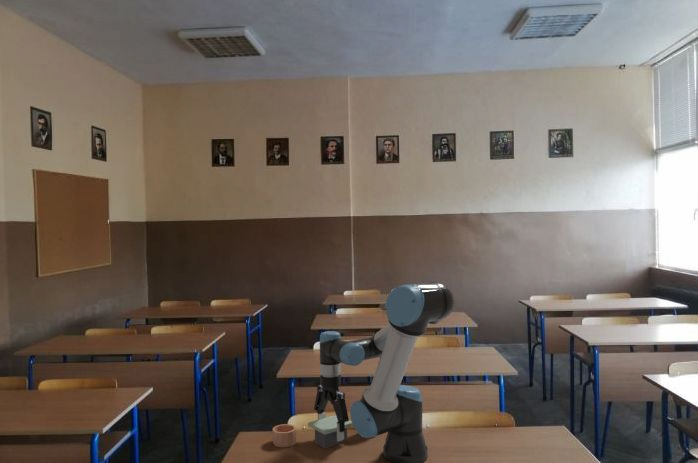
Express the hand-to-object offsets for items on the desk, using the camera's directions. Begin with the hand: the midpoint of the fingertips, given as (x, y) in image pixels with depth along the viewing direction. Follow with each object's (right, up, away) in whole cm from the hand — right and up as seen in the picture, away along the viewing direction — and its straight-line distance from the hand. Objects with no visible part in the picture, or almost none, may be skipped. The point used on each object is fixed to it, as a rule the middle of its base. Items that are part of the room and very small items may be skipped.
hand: (331, 435), depth 180 cm
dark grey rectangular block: (0, -2, 0) cm, 2 cm away
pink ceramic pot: (-17, -3, 0) cm, 17 cm away
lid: (0, +4, 0) cm, 4 cm away
